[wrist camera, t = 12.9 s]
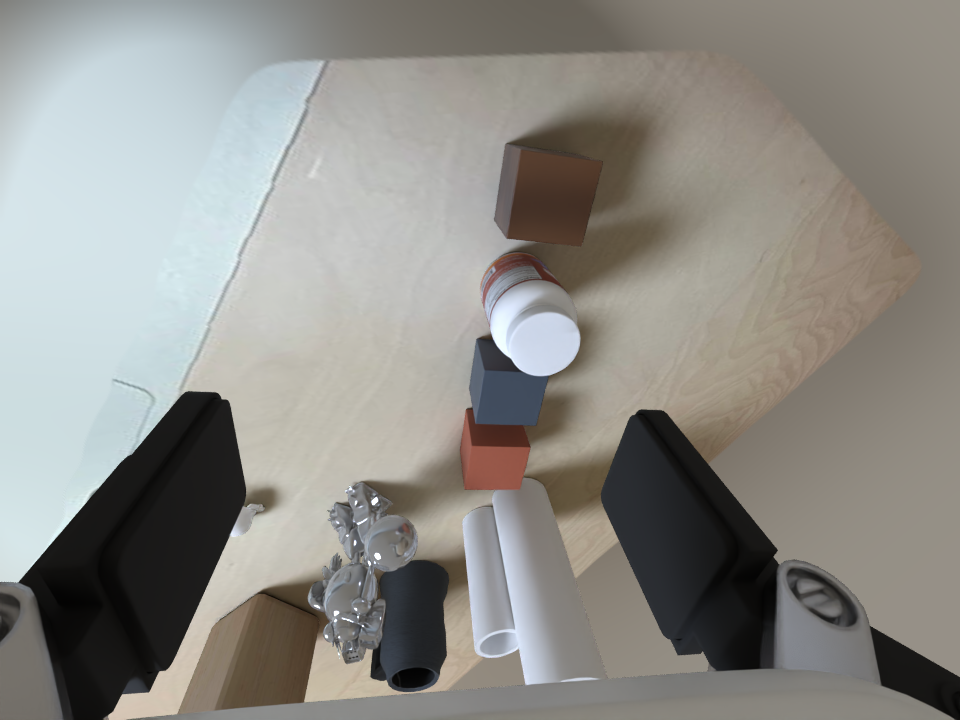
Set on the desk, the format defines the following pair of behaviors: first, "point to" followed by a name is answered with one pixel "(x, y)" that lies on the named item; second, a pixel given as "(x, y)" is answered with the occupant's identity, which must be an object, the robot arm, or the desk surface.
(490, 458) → the block
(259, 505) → the rabbit figurine
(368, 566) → the robot toy
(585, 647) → the vase
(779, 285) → the desk surface
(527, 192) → the block
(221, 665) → the wooden block
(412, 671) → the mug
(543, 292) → the pill bottle
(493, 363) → the block
